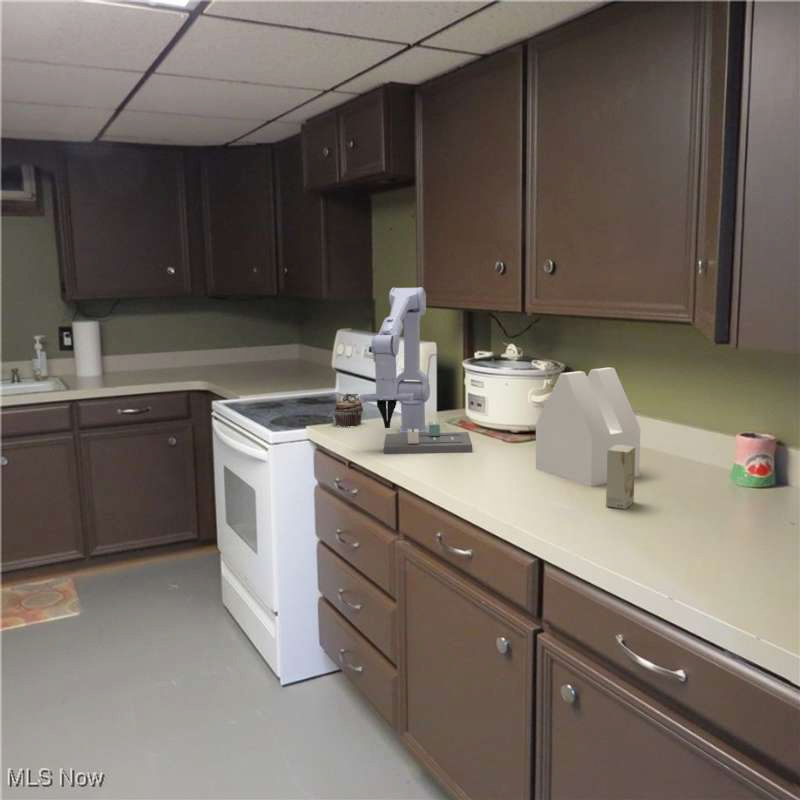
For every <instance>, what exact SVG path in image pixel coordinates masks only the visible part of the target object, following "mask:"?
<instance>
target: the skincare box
mask: <svg viewBox="0 0 800 800" xmlns="http://www.w3.org/2000/svg"><path fill="white" fill-rule="evenodd" d="M634 472H635V447H633V446H625V445H615V446H613V447H611V448H610V449H609V450H608V451H607V483H606V489H605V490H606V493H605V494H606V495H605V497H606V498H605V507H609V508H616V509H621V510H622V509H623V510H626V509H627V508H629V507H630V506H631V505H632V504H633V503H634V499H635V498H634V497H635V477H634Z"/></svg>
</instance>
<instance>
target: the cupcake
mask: <svg viewBox="0 0 800 800" xmlns="http://www.w3.org/2000/svg"><path fill="white" fill-rule="evenodd" d="M362 404H363V403H360V395H359V394H358V393H345V394H342V396H341V397H340V398H339V399H338V401H337V402H336V404H335V408H334V409H333V415H334V419H335V420H334V421H335V424H336V426H337V425H339V426H349V427H348V428H351V427H350V426H355V427H358V426H360V425H361V422H362V416H363V412H364V407H363V406H362ZM339 426H338V427H339Z"/></svg>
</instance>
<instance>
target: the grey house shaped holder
mask: <svg viewBox="0 0 800 800" xmlns="http://www.w3.org/2000/svg"><path fill="white" fill-rule="evenodd" d="M615 445H625V446H633V447H635V472H634V478H636V477H639V476H640V459H641V457H640V455H641V453H640V452H641V427H640V425H639V422H638V420H637V418H636V415H635V413H634V411H633V407H632V405H631V403H630V401H629V399H628V396H627V395H626V392H625V390H624V387H623V384H622V382H621V380H620V378H619V375H618V373H617V371H616V369H615V367H609V366H608V367H602V368H593V369H590V371H589V372H588V375H587V374H586V372H585V371H581V370H576V371H569V372H568V371H567V372H562V373H559V376H558V378H557V380H556V382H555V384H554V386H553V388H552V390H551V392H550V394H549V396H548V398H547V400H546V403H545V405H544V406H543V409H542V410H541V413H540V414H539V416H538V418H537V421H536V423H535V470H540V471H542V472H544V473H548V474H551V475H554V476H558V477H560V478H563V479H566V480H570V481H571V482H572V481H573V482H576V483H579V484H582V485H584V486H588V487H590V488H591V487H595V486H596V487H597V486H601V485H605V484H606V485H607V451H608V450H609V449H610V448H611V447H613V446H615Z"/></svg>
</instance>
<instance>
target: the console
mask: <svg viewBox="0 0 800 800" xmlns="http://www.w3.org/2000/svg"><path fill="white" fill-rule="evenodd" d="M383 452H384V453H383V454H384V455H398V454H399V455H400V454H401V455H402V454H444V453H445V454H447V453H448V454H449V453H454V454H455V453H473V444H472V440H471V437H470V433H469V432H468V431H465V432H464V431H463V432H462V431H461V432H460V431H458V432H455V431H453V432H452V431H451V432H440V436H429V432H427V433H419V443H414V444H408V433H385V438H384V444H383Z"/></svg>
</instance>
